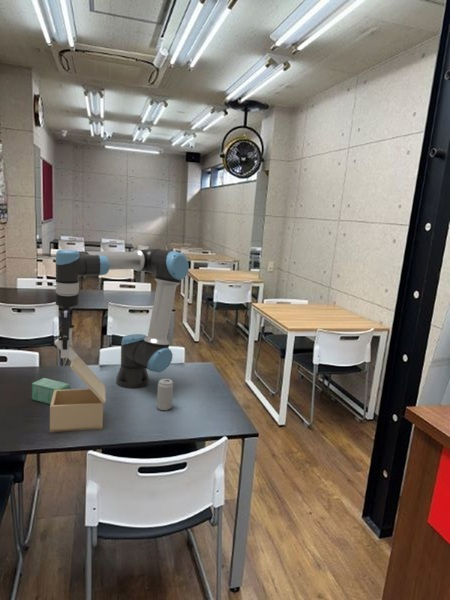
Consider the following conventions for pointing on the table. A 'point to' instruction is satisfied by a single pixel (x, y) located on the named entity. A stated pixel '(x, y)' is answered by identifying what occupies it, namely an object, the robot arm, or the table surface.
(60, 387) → the box
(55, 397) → the carton
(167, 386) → the beverage can
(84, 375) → the lid
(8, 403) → the table surface
